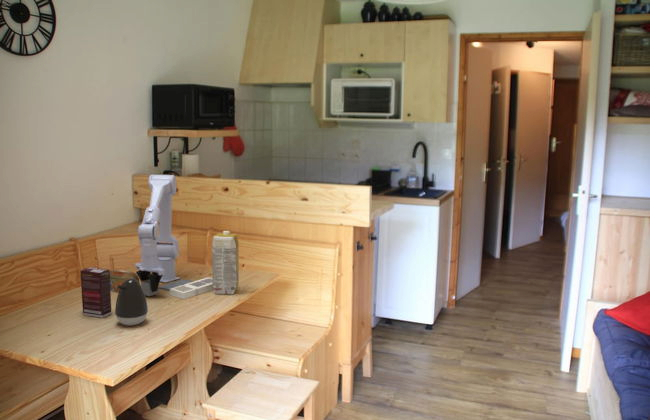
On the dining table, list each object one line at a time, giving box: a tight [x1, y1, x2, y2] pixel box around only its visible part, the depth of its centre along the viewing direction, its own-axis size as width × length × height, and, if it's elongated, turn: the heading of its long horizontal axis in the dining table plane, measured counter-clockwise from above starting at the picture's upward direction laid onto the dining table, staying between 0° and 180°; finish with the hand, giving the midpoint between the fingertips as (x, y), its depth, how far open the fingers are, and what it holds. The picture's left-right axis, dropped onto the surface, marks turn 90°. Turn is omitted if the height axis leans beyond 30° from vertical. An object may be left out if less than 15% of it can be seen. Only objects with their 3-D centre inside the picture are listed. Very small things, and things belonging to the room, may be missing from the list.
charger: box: [140, 279, 160, 297], centre depth 216 cm, size 4×4×5 cm
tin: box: [110, 269, 140, 294], centre depth 220 cm, size 15×3×8 cm, turn 69°
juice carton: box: [211, 230, 240, 295], centre depth 221 cm, size 9×8×24 cm
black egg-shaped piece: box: [114, 278, 149, 327], centre depth 187 cm, size 10×10×15 cm
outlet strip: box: [168, 276, 214, 300], centre depth 225 cm, size 8×24×3 cm, turn 146°
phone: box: [159, 278, 194, 292], centre depth 230 cm, size 7×14×1 cm, turn 151°
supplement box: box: [80, 266, 112, 319], centre depth 194 cm, size 9×5×16 cm, turn 71°
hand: (150, 289), depth 216 cm, fingers closed on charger, 4 cm apart
